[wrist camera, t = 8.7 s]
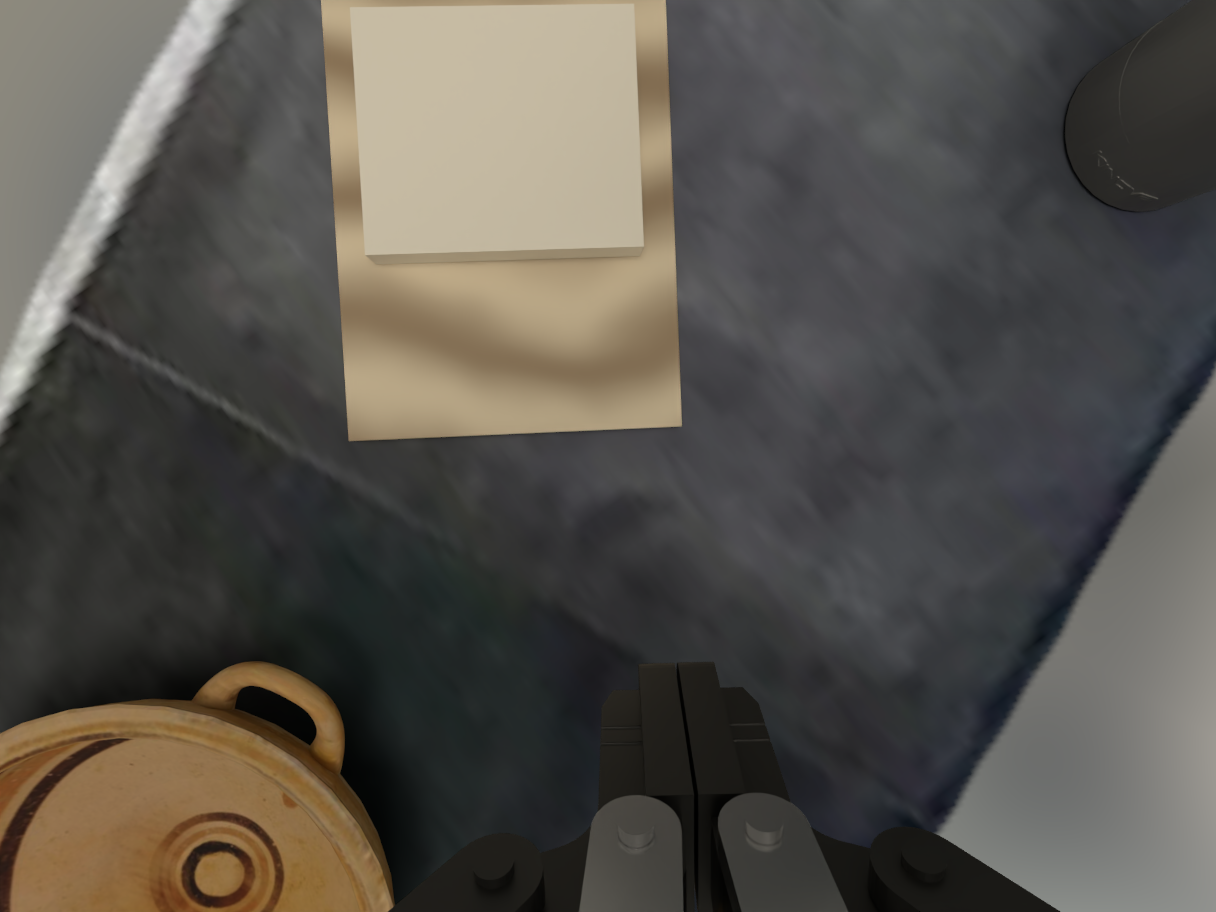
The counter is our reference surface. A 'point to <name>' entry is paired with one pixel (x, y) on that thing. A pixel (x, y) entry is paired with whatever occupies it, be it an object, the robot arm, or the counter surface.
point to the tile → (498, 132)
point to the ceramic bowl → (186, 808)
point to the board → (508, 295)
